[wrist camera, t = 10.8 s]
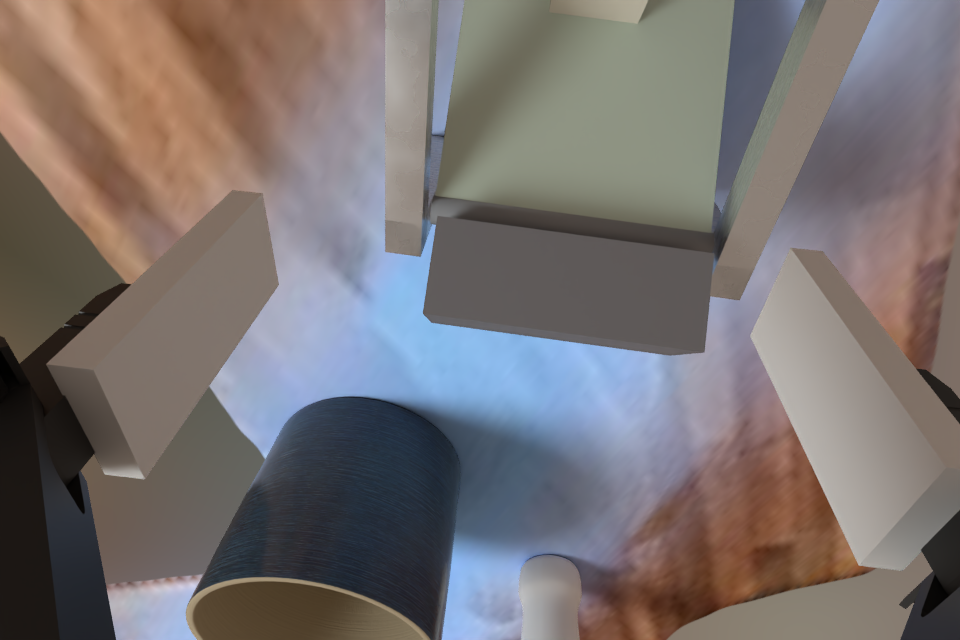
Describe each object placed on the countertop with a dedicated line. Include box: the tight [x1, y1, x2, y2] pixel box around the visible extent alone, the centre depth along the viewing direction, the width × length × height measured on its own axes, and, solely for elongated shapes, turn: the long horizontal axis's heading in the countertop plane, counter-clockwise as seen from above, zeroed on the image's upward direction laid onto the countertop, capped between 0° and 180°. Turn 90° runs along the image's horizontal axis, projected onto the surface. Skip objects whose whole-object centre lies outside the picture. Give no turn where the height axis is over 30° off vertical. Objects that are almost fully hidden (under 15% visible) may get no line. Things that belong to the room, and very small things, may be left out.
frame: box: [385, 0, 879, 300], centre depth 31 cm, size 20×20×14 cm
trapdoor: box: [423, 0, 735, 355], centre depth 31 cm, size 20×15×5 cm
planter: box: [186, 398, 461, 640], centre depth 57 cm, size 22×22×20 cm
